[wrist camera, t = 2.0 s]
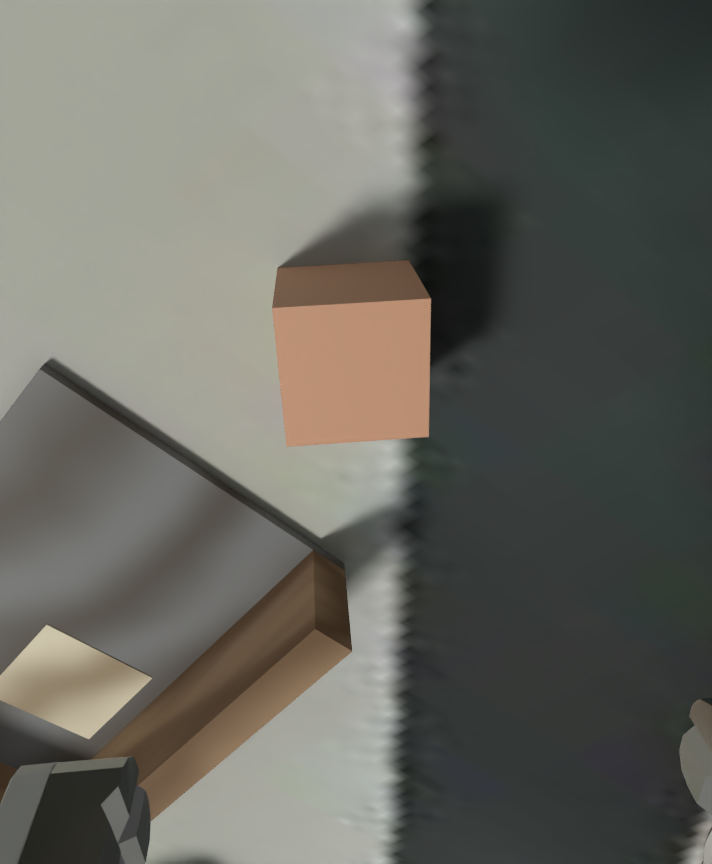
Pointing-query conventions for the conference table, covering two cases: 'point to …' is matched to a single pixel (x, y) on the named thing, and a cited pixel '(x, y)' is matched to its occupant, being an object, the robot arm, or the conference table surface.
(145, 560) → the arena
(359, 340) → the cube
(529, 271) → the conference table surface
